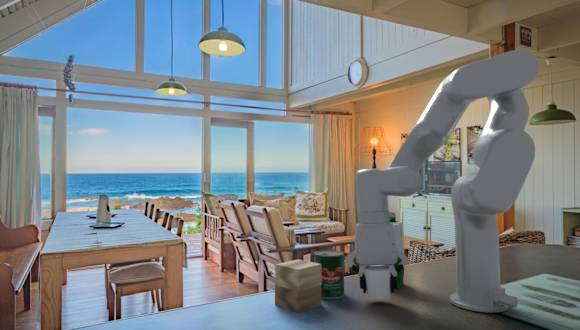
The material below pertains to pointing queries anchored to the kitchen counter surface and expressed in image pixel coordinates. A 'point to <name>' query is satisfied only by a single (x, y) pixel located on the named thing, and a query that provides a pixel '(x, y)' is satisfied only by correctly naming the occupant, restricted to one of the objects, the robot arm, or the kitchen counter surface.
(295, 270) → the block upper
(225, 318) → the kitchen counter surface
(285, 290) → the block lower
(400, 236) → the milk carton
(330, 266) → the canned tomato
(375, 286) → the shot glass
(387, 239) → the robot arm
